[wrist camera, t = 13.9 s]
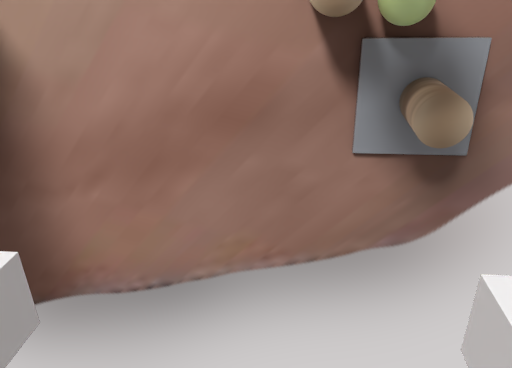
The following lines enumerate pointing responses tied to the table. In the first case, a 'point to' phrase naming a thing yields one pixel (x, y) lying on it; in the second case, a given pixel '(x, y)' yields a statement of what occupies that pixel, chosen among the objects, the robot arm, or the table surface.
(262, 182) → the table surface
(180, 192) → the table surface
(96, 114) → the table surface
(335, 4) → the cork
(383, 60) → the coaster
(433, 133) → the cork
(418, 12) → the lime
